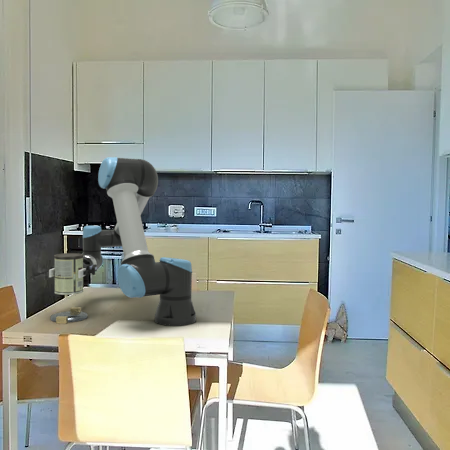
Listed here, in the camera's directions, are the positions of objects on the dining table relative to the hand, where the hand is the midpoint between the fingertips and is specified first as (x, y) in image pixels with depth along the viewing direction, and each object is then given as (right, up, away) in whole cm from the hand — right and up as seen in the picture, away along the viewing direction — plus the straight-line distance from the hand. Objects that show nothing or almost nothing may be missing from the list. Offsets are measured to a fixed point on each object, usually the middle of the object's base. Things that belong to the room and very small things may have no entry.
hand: (64, 274), depth 169 cm
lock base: (0, -17, +5) cm, 18 cm away
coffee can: (0, -7, +5) cm, 9 cm away
